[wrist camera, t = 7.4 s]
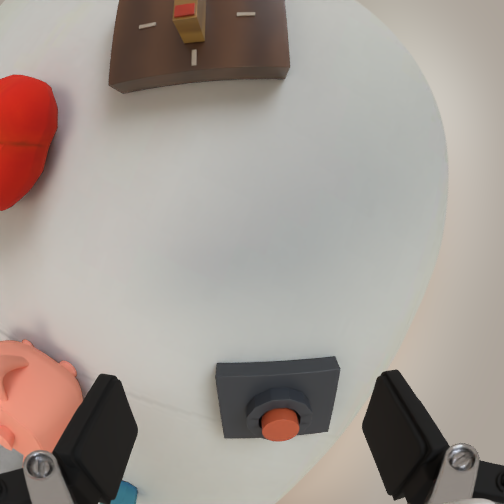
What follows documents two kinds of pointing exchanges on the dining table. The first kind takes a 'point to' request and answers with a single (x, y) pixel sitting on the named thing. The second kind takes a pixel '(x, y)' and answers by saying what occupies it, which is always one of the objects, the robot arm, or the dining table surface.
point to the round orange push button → (280, 424)
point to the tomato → (24, 134)
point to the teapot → (34, 398)
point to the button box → (276, 394)
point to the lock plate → (198, 44)
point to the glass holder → (10, 460)
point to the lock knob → (190, 19)
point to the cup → (125, 494)
